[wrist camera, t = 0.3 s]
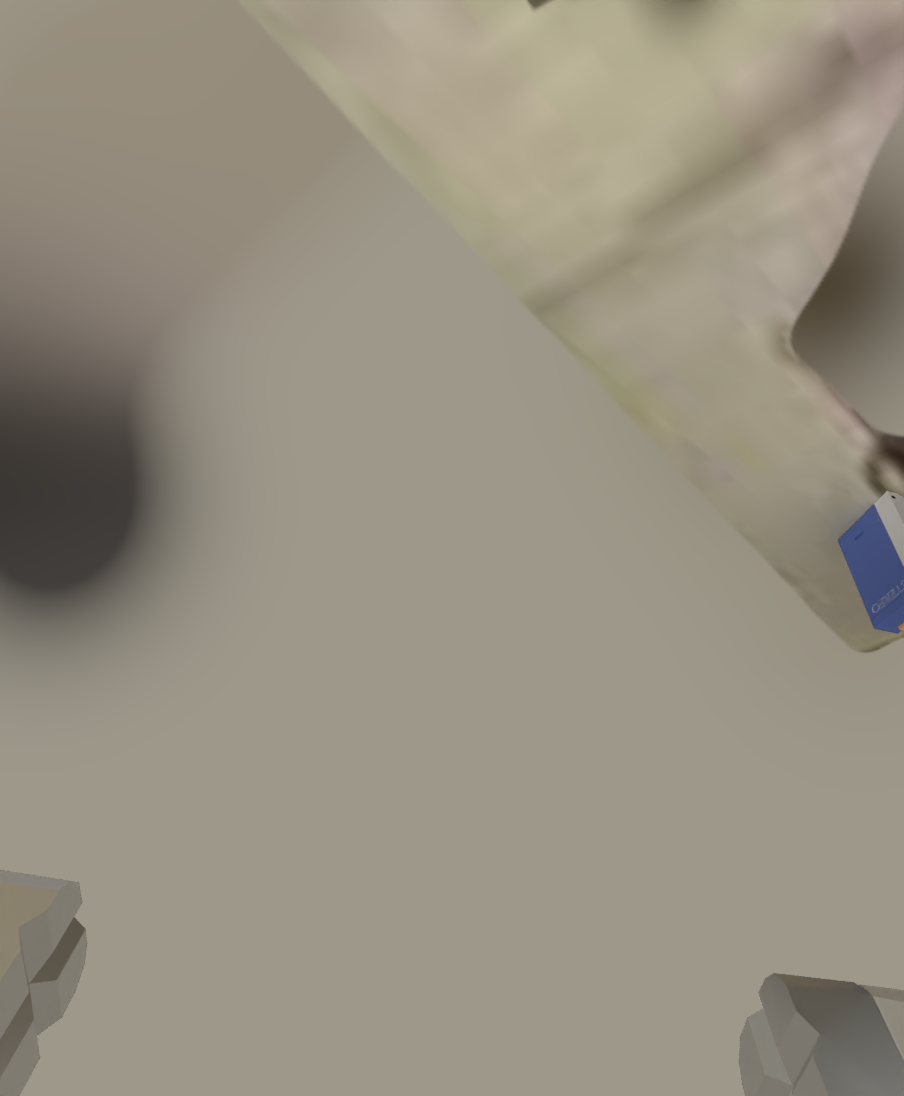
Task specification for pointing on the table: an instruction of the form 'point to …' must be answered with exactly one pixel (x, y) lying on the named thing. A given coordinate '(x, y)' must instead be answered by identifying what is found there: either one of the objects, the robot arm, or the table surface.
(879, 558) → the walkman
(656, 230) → the table surface
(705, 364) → the table surface
